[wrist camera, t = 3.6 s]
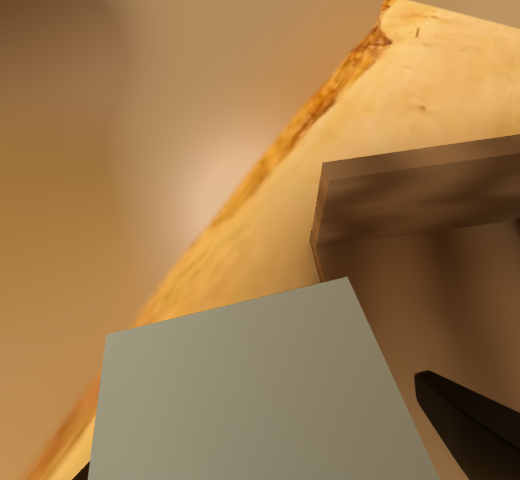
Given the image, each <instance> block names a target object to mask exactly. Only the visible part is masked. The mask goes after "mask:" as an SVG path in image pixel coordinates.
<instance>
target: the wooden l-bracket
mask: <svg viewBox="0 0 520 480" xmlns="http://www.w3.org/2000/svg"><path fill="white" fill-rule="evenodd" d="M310 243H311V247H312V251H313V255H314V258H315V262H316V266H317V270H318V274H319V277H320V281H321V283H323V282H327V281H332V280H336V279H340V278H344V277H348V279H349V281H350V284H351V286H352V288H353V290H354V292H355V295H356V297H357V299H358V301H359V303H360V306H361V308H362V310H363V312H364V314H365V317H366V319H367V321H368V323H369V325H370V328H371V330H372V332H373V334H374V336H375V339H376V341H377V343H378V345H379V347H380V350H381V352H382V354H383V356H384V358H385V361H386V363H387V365H388V367H389V369H390V371H391V374H392V376H393V378H394V380H395V382H396V385H397V387H398V389H399V391H400V393H401V396H402V398H403V400H404V402H405V404H406V407H407V409H408V411H409V413H410V415H411V418H412V420H413V422H414V424H415V426H416V429H417V431H418V433H419V435H420V437H421V440H422V442H423V444H424V446H425V448H426V451H427V453H428V455H429V457H430V459H431V462H432V464H433V466H434V468H435V470H436V473H437V475H438V477H439V479H440V480H469V479H468V477H467V476H466V475H465V473H464V472H463V471H462V469H461V468H460V466H459V465H458V463H457V462H456V460H455V459H454V458H453V456H452V454H451V453H450V451H449V450H448V448H447V447H446V445H445V444H444V442H443V441H442V439H441V438H440V436H439V435H438V433H437V432H436V430H435V428H434V427H433V425H432V424H431V422H430V421H429V419H428V418H427V416H426V415H425V413H424V412H423V410H422V409H421V407H420V405H419V404H418V401H417V399H416V393H415V383H414V375H415V373H418V372H422V371H425V370H429V371H432V372H434V373H437V374H439V375H441V376H443V377H445V378H447V379H449V380H451V381H454V382H456V383H458V384H460V385H462V386H464V387H466V388H468V389H471V390H473V391H475V392H477V393H479V394H481V395H483V396H485V397H488V398H490V399H492V400H494V401H496V402H498V403H500V404H502V405H505V406H507V407H509V408H511V409H513V410H515V411H517V412H520V134H519V135H512V136H506V137H499V138H492V139H485V140H478V141H471V142H464V143H457V144H450V145H443V146H436V147H429V148H422V149H415V150H408V151H401V152H394V153H387V154H380V155H373V156H366V157H359V158H352V159H345V160H338V161H331V162H324V163H323V165H322V171H321V177H320V184H319V190H318V196H317V203H316V209H315V215H314V222H313V228H312V231H311V234H310Z"/></svg>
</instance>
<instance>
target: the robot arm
mask: <svg viewBox="0 0 520 480" xmlns="http://www.w3.org/2000/svg"><path fill="white" fill-rule="evenodd" d="M414 383H415V393H416V399H417V401H418V404H419V405H420V407H421V409H422V410H423V412H424V413H425V415H426V416H427V418H428V419H429V421H430V422H431V424H432V425H433V427H434V428H435V430H436V432H437V433H438V435H439V436H440V438H441V439H442V441H443V442H444V444H445V445H446V447H447V448H448V450H449V451H450V453H451V454H452V456H453V458H454V459H455V460H456V462H457V463H458V465H459V466H460V468H461V469H462V471H463V472H464V473H465V475H466V476H467V477H468V479H469V480H520V412H517V411H515V410H513V409H511V408H509V407H507V406H505V405H502V404H500V403H498V402H496V401H494V400H492V399H490V398H488V397H485V396H483V395H481V394H479V393H477V392H475V391H473V390H471V389H468V388H466V387H464V386H462V385H460V384H458V383H456V382H454V381H451V380H449V379H447V378H445V377H443V376H441V375H439V374H437V373H434V372H432V371H429V370H425V371H422V372H418V373H415V375H414ZM89 466H90V461H89V462H88V463H87V464H86V466H85V467H84V468H83V469H82V470H81V471H80V472H79V473H78V474H77V475H76V476H75V477H74V478H73V479H72V480H88V473H89Z"/></svg>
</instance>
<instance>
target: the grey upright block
mask: <svg viewBox="0 0 520 480" xmlns="http://www.w3.org/2000/svg"><path fill="white" fill-rule="evenodd" d="M88 480H440V479H439V477H438V475H437V473H436V470H435V468H434V466H433V464H432V462H431V459H430V457H429V455H428V453H427V451H426V448H425V446H424V444H423V442H422V440H421V437H420V435H419V433H418V431H417V429H416V426H415V424H414V422H413V420H412V418H411V415H410V413H409V411H408V409H407V407H406V404H405V402H404V400H403V398H402V396H401V393H400V391H399V389H398V387H397V385H396V382H395V380H394V378H393V376H392V374H391V371H390V369H389V367H388V365H387V363H386V361H385V358H384V356H383V354H382V352H381V350H380V347H379V345H378V343H377V341H376V339H375V336H374V334H373V332H372V330H371V328H370V325H369V323H368V321H367V319H366V317H365V314H364V312H363V310H362V308H361V306H360V303H359V301H358V299H357V297H356V295H355V292H354V290H353V288H352V286H351V284H350V281H349V279H348V277H344V278H340V279H336V280H332V281H327V282H323V283H319V284H315V285H311V286H307V287H303V288H298V289H294V290H290V291H286V292H282V293H278V294H273V295H269V296H265V297H261V298H257V299H253V300H248V301H244V302H240V303H236V304H232V305H228V306H224V307H219V308H215V309H211V310H207V311H203V312H199V313H194V314H190V315H186V316H182V317H178V318H174V319H169V320H165V321H161V322H157V323H153V324H149V325H145V326H140V327H136V328H132V329H128V330H124V331H120V332H115V333H111V334H108V335H107V336H106V344H105V351H104V359H103V367H102V374H101V382H100V389H99V397H98V405H97V412H96V420H95V428H94V435H93V443H92V450H91V458H90V466H89V473H88Z"/></svg>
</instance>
